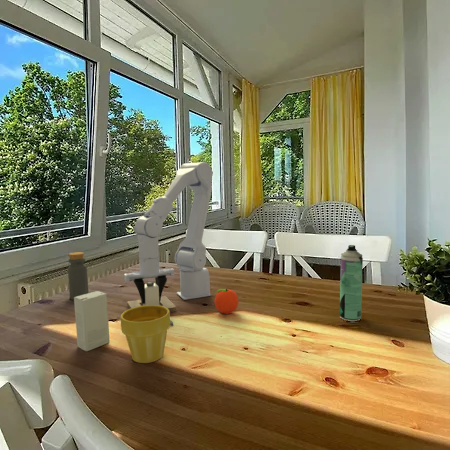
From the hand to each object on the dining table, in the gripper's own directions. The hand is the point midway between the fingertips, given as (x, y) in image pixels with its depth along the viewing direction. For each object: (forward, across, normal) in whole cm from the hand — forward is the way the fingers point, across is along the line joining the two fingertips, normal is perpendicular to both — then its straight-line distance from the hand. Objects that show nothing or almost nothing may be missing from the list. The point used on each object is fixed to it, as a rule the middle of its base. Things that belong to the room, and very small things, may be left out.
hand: (150, 301), depth 107 cm
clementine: (+2, -18, +14) cm, 23 cm away
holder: (+2, 0, 0) cm, 2 cm away
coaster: (+2, +2, +12) cm, 12 cm away
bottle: (+2, +19, -22) cm, 29 cm away
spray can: (+2, -46, +34) cm, 57 cm away
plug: (+2, 0, 0) cm, 2 cm away
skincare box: (+2, +18, +19) cm, 26 cm away
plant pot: (+2, +8, +30) cm, 31 cm away
